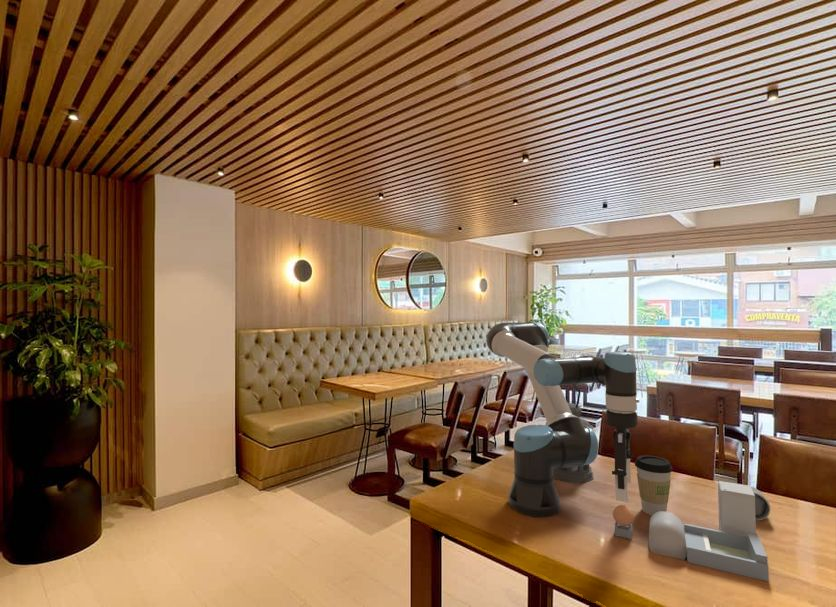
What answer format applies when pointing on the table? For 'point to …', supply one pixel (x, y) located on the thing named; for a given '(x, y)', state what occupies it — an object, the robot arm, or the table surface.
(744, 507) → the supplement box
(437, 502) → the table surface
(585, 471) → the lantern
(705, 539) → the grey molded pieces
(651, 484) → the coffee cup
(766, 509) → the ceramic mug
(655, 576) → the table surface
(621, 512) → the ball
